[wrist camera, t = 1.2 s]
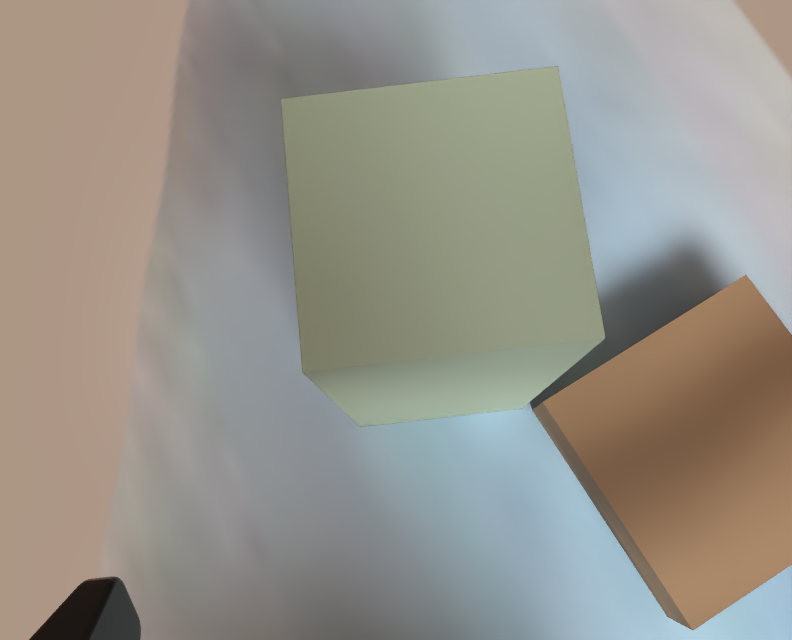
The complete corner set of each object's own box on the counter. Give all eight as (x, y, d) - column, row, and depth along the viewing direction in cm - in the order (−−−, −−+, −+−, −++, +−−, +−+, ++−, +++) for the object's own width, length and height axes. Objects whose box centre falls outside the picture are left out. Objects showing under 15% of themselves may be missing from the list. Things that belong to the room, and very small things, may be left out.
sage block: (521, 409, 23) (605, 338, 12) (360, 426, 23) (302, 372, 12) (498, 255, 24) (557, 65, 13) (345, 272, 24) (280, 98, 13)
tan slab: (854, 487, 22) (907, 487, 20) (662, 614, 22) (692, 630, 19) (713, 296, 24) (745, 274, 21) (530, 410, 23) (542, 401, 21)
